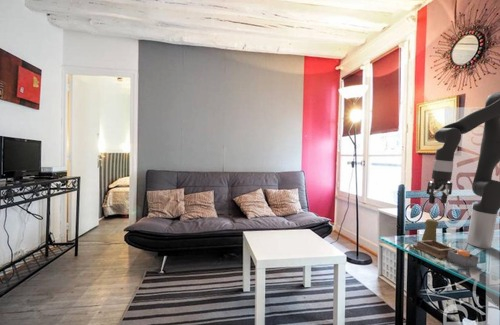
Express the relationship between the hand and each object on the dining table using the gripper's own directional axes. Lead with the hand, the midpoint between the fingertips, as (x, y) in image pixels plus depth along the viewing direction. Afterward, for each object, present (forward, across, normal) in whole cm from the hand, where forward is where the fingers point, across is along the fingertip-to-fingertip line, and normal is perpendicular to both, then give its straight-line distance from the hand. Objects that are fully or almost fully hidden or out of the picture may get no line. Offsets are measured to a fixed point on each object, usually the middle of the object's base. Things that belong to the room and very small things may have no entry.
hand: (437, 203), depth 127 cm
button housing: (+20, +10, +19) cm, 29 cm away
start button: (+18, +10, +19) cm, 28 cm away
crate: (+20, +10, +8) cm, 23 cm away
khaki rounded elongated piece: (+20, 0, -2) cm, 20 cm away
